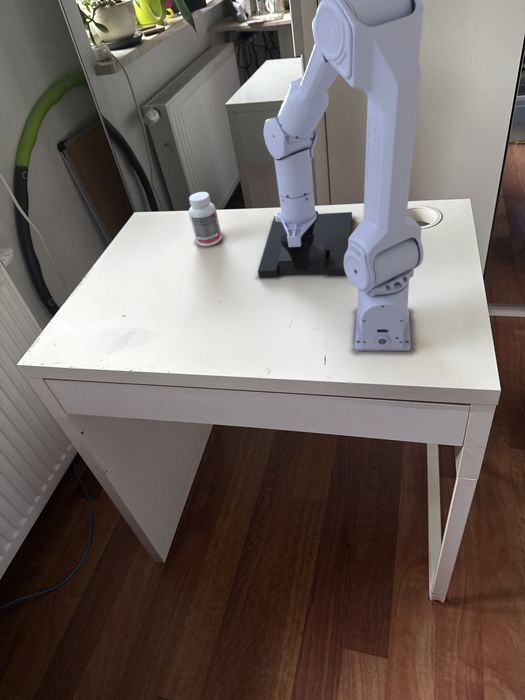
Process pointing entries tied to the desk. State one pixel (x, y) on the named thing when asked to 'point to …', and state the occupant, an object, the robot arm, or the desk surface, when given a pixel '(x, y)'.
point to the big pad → (327, 232)
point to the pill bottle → (204, 219)
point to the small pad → (314, 267)
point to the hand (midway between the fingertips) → (303, 260)
